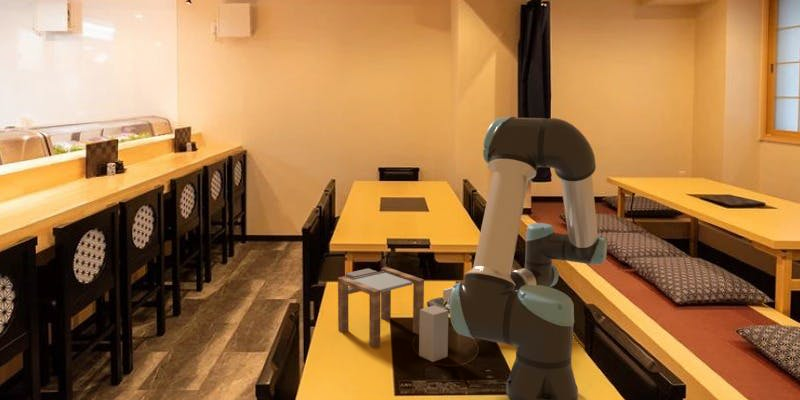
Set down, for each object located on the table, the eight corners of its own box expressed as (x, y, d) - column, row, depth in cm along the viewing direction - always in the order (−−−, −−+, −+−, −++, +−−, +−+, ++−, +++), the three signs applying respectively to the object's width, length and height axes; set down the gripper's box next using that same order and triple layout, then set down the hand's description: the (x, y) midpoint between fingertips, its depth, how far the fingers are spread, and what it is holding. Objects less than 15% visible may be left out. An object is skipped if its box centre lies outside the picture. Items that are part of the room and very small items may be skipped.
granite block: (447, 356, 156) (448, 310, 154) (432, 361, 153) (433, 314, 151) (433, 350, 160) (434, 305, 158) (419, 355, 157) (419, 309, 155)
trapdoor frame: (423, 332, 172) (424, 279, 169) (374, 348, 161) (374, 292, 158) (386, 316, 184) (386, 267, 181) (338, 330, 173) (337, 277, 170)
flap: (412, 286, 169) (412, 280, 169) (377, 294, 162) (377, 288, 161) (373, 272, 182) (373, 267, 182) (339, 280, 174) (339, 274, 174)
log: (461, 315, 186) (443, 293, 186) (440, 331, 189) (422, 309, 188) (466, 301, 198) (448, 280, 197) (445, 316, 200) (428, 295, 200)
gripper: (552, 309, 166) (499, 329, 153) (482, 286, 185) (429, 302, 171) (553, 282, 165) (500, 300, 151) (482, 262, 183) (429, 276, 170)
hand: (462, 301), depth 161 cm, fingers open, 13 cm apart
